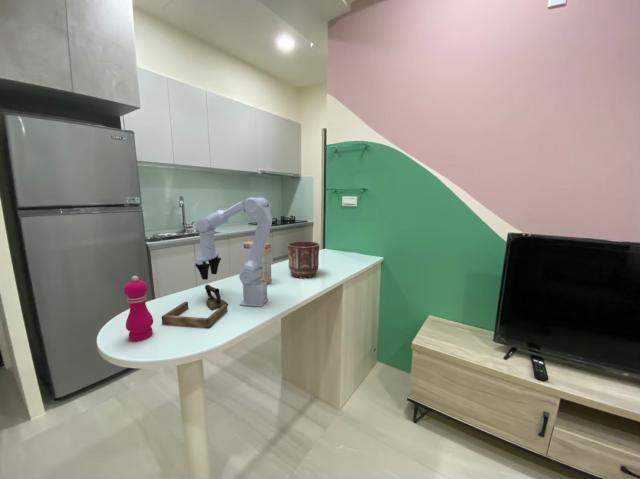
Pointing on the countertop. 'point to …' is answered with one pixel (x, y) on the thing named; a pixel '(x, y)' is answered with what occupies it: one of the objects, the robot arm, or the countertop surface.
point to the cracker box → (265, 260)
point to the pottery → (303, 258)
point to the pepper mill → (138, 310)
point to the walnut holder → (177, 320)
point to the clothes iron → (214, 302)
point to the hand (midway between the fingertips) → (209, 276)
